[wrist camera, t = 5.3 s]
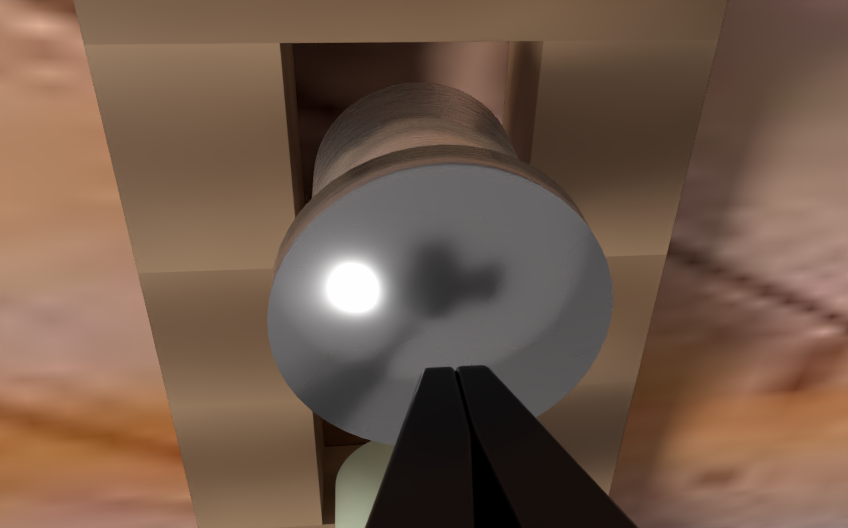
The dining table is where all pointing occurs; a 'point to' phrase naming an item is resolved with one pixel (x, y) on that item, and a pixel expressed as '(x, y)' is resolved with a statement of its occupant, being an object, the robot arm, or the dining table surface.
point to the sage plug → (360, 484)
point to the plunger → (431, 265)
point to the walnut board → (284, 198)
